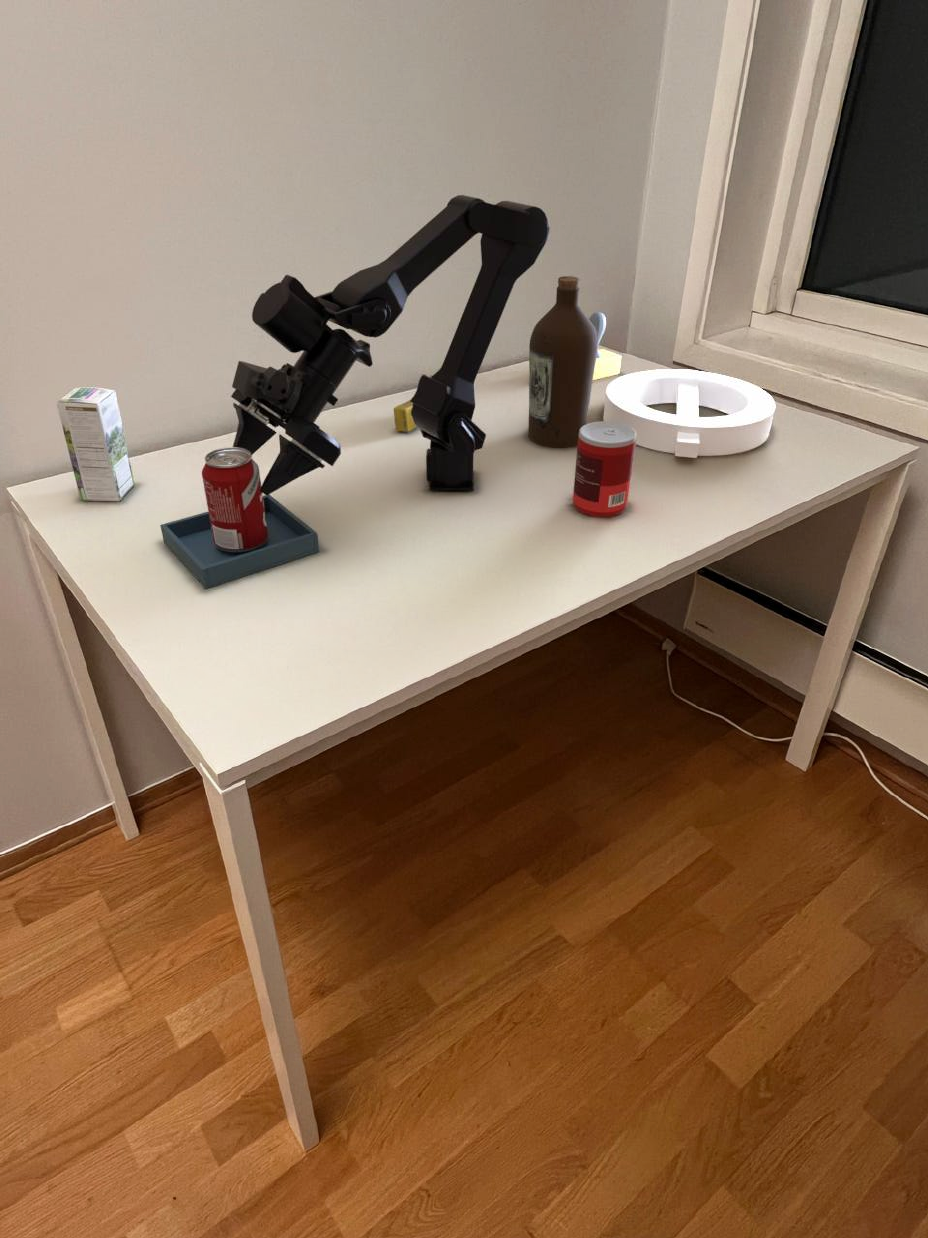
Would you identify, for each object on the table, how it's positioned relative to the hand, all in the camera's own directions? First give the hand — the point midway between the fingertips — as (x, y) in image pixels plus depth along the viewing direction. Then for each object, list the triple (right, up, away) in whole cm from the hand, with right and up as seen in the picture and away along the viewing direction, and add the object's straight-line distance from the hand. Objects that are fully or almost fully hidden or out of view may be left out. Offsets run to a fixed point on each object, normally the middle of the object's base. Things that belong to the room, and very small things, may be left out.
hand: (246, 479), depth 104 cm
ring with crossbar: (+65, +17, +42) cm, 79 cm away
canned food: (+46, -1, +15) cm, 49 cm away
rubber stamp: (+52, +31, +62) cm, 87 cm away
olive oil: (+42, +13, +36) cm, 57 cm away
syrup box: (-24, +1, +17) cm, 29 cm away
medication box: (+19, +16, +40) cm, 48 cm away
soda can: (-2, -8, +4) cm, 9 cm away
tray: (-2, -8, +4) cm, 9 cm away
